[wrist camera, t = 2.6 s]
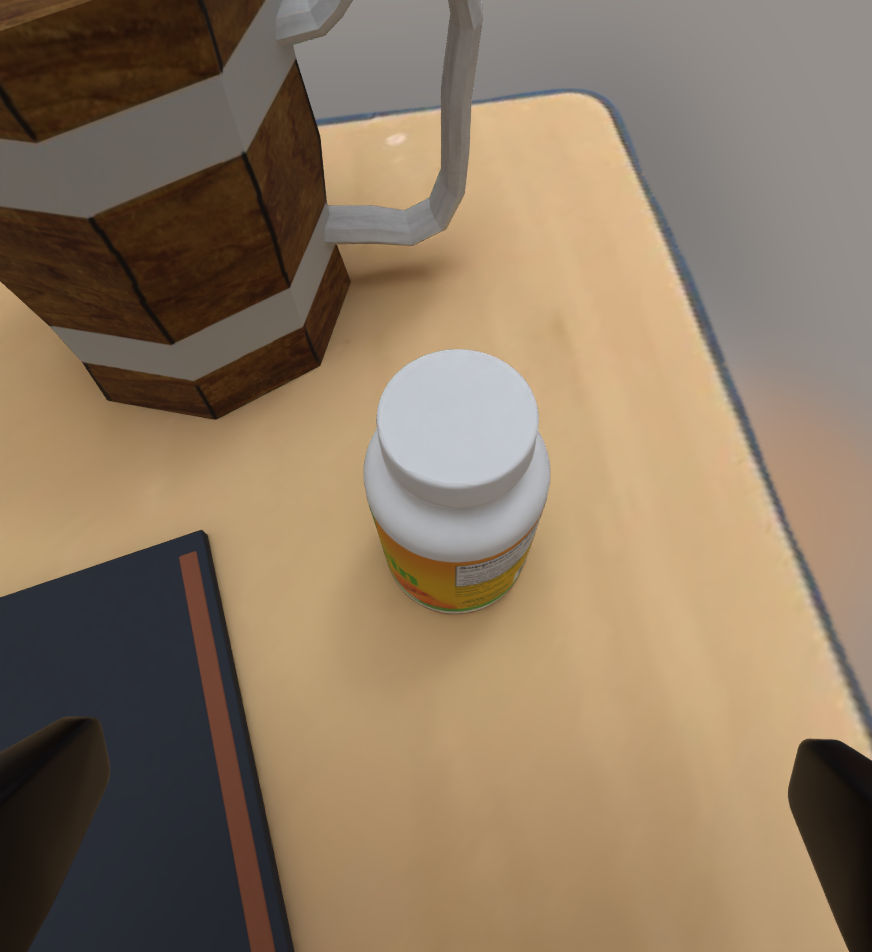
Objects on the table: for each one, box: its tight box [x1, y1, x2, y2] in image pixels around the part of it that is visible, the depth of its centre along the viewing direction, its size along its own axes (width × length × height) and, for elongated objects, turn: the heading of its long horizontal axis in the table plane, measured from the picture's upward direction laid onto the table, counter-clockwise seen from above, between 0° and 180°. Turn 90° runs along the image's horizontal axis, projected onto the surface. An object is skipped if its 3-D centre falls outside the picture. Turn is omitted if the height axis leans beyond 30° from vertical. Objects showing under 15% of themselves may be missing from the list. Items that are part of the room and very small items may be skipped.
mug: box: [0, 0, 483, 419], centre depth 22 cm, size 20×14×15 cm
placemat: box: [0, 530, 294, 952], centre depth 18 cm, size 20×14×1 cm
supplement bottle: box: [364, 349, 550, 614], centre depth 19 cm, size 5×5×10 cm
